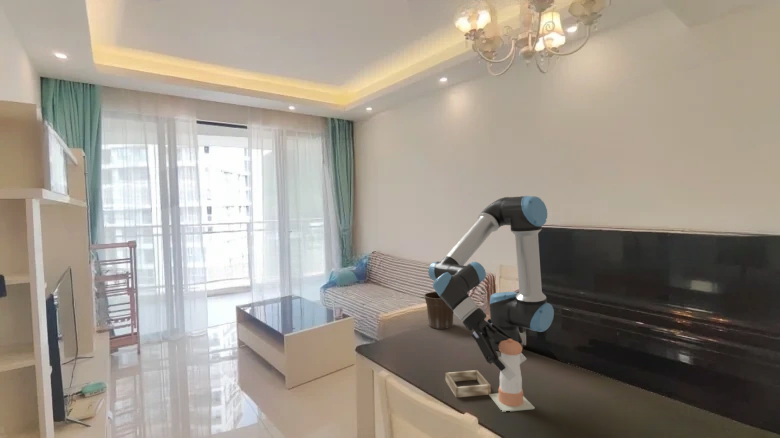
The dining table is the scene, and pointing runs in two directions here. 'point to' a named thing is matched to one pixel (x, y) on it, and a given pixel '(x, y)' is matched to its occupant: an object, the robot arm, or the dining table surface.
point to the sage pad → (504, 408)
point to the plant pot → (438, 311)
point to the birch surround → (468, 390)
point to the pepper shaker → (511, 355)
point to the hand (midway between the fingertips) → (518, 369)
